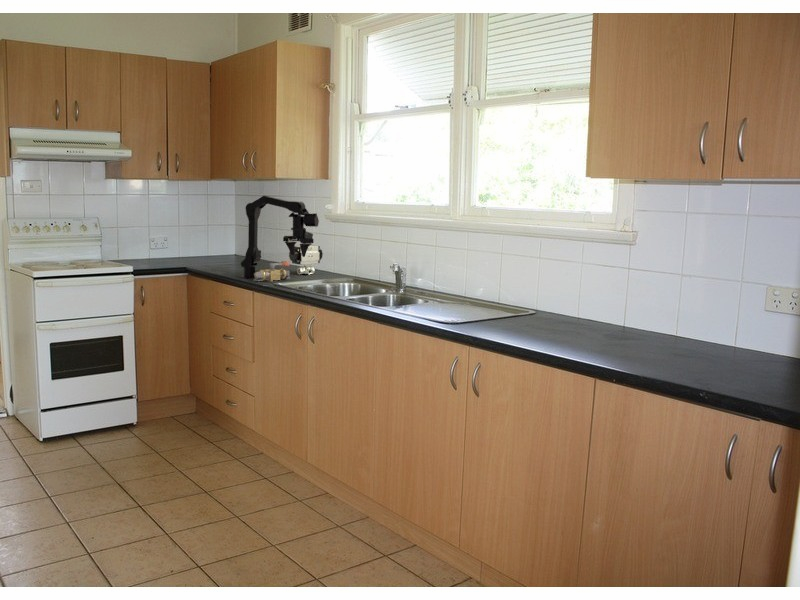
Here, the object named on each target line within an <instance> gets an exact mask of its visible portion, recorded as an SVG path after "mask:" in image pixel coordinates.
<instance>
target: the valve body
mask: <svg viewBox="0 0 800 600" xmlns="http://www.w3.org/2000/svg"><path fill="white" fill-rule="evenodd" d="M290 274H291V273H290V270H289V269H285V268H284V267H282V268H279V269H276V268H275V270H270V269H260V270H258V271H257V272H256V271H255V273H254V278H253V282H254V281H262V282H263V281H265V280H270V281H269V282H274V281H273V280H280V281H281V280H285V279H289V280H291V276H290Z"/></svg>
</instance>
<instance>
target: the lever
mask: <svg viewBox="0 0 800 600" xmlns="http://www.w3.org/2000/svg"><path fill="white" fill-rule="evenodd" d="M268 264H269V265H268V266H269V269H270V270H275V269H276V268H275V267H276V266H281V267H289V266H290V261H288V260H283V261H280V262H270V263H268Z"/></svg>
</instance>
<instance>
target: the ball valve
mask: <svg viewBox="0 0 800 600" xmlns="http://www.w3.org/2000/svg"><path fill="white" fill-rule="evenodd" d="M323 254H324V253H323V249H321V246H320V245H314V244H312V245H310V246H309V247H308V249H307V251H306V254H305V257H303V256H302V252H301V247H300V245H295V248H294V255H291V253H290V251H289V252H288V258H289V260H290V262H291V264H294V265H295V264H296V265H300V267H297V270H296V272H297V274H298V275H300V274H308V275H307V276H311V275H310V274H312V275H313V274H314V273H315V267H313V266H312V264H313V265H314V264H320V263H321V262H320V261H321V260H322V258H323Z"/></svg>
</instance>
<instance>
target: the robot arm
mask: <svg viewBox="0 0 800 600" xmlns="http://www.w3.org/2000/svg"><path fill="white" fill-rule="evenodd" d="M267 205H271V206H275V207H279V208H283V209H286V210H288V211H290V212H291V213H290V214H289V215H288V218H292V227H290V230H291V231H292V235H284V236H283V237H282V238H283V239H282V240H283V242H284V243H285V245H286V246H287V249H288V251H289V252H290V253H291V255H294V248H295V246H296V244H297V242H300V243H299V246H300V247H301V252H302V256H303V257H305V254H306V251H307V249H308V247H309V246H310V245H313V244H314V238H313V236H314V233H312V232H309V231H307V229H306V227H315V228H317V227H319V223H320V221H319V217H318V213H317V212H316V213H309V211H308V209H307V208H306V204H305V203H304V202H303V201H296V200H293V201H292V200H285V199H281V198H276V197H273V196H270V195H262V196H261V197H260V198H258V199H256V200H254V201H252V202H249V203H247V204H246V205H245V214H246V217H247V219H248V241H247V242H248V246H247V249H246V252H245V254H244V259H243V260H241V262H240V265H241V268H242V269H243V270H242V271H243V275H242V276H240V277H241V278H242V279H247V280H248V279H249V278H250V279H255V278H254V273H255V272H256V266H258V264H259V262H260V261H261V258H262V250H261V249H260V250H259V247H258V231H259V230H258V224H259V223H258V221H259V218H260V216H261V211H262V209H263V208H264V207H266V206H267Z"/></svg>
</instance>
